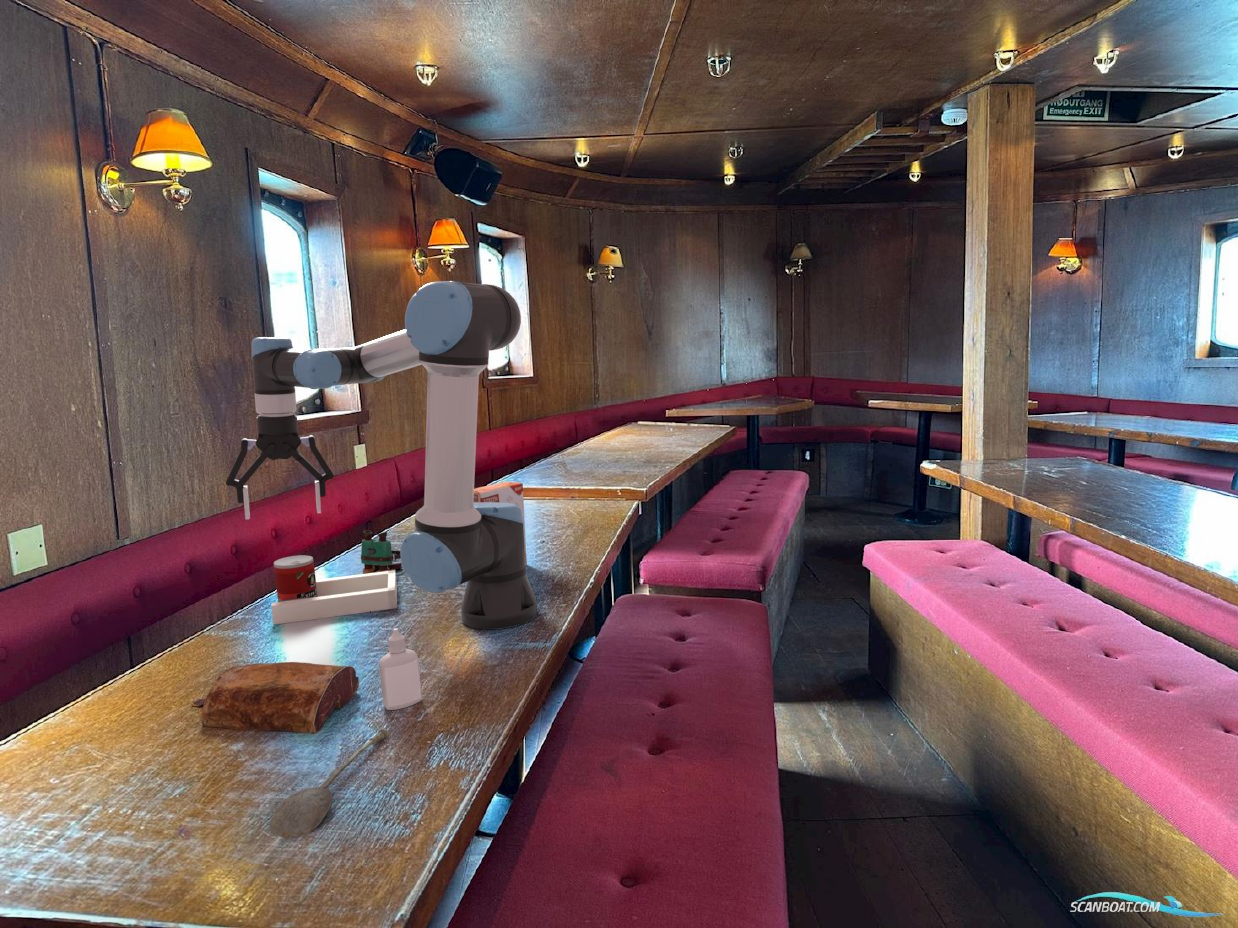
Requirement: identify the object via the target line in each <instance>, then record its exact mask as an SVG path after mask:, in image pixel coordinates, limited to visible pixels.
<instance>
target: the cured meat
mask: <svg viewBox="0 0 1238 928" xmlns="http://www.w3.org/2000/svg"><path fill="white" fill-rule="evenodd" d="M359 685H360V679H359V676H357V672H356V669H355V668H354V667H353V666H349V665H331V664H322V663H321V664H320V663H312V662H311V663H310V662H300V661H299V662H298V661H285V662H284V661H283V662H268V663H267V662H266V663H265V662H263V663H251V664H244V665H235V666H232V667H230V668H228V669H226V670H225V671H223V672H222V673H221V674H219V675H218V677H217V679H216V681H215V682H214V683H213V685H212V686H211V688H210V690H209V692H208V694H207V695H206V697H205V698H202V699H201V698H200V699H198V700H195V701H193V702H192V704H191V706H192V707H197V709H199V708H201V707H202V710H201V713H200V720H201V724H202V727H208V728H210V727H211V728H224V729H230V730H241V731H256V732H257V731H258V732H260V731H282V732H294V733H304V734H317V733H318V732H319V731H320V730H321V729H323V727H324V724H325V721H326V720H327V719H328V718H329V716H330V715H331V714H332V712H333V711H334V709H341V710H342V709H343V708H344V707H345V706H346V705H347V704H349V702H350V701H351V700H352V699H353V698H354V697H355V695H356V693H357V691H358V690H359V687H360V686H359Z"/></svg>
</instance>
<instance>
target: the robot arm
mask: <svg viewBox="0 0 1238 928" xmlns="http://www.w3.org/2000/svg"><path fill="white" fill-rule="evenodd" d="M404 315H405V316H404V328H405V329H402V330H400V331H396V332H394V333H391V334H388V335H385V336H382V337H380V338H377V339H374V340H371V341H368V342H365V343H362V344H360V345H356V346H352V347H332V348H330V347H329V348H328V347H327V348H326V347H325V348H323V347H322V348H294V347H293V343H292V341H293V340H292V339H291V338H289V337H283V336H282V337H281V336H279V337H278V336H273V337H272V336H271V337H270V336H269V337H267V336H266V337H265V336H263V337H262V336H261V337H260V336H259V337H254V338H253V339H252V341H251V356H250V360H251V366H252V367H251V368H252V376H253V388H254V389H253V390H254V403H255V412H256V413H257V414H259V415H257V417H256V429H257V438H256V439H248V438H246V437H244V438H242V439H241V441H240V451H239V453H238V454H237V457H236V459H235V461H234V464H233V466H232V467H231V470H230V473H229V474H228V476H227V479H226V480H225V484H226V485H227V486H231V487H234V488H235V489H236V496H237V503H238V504H243V505H244V506H243V508H244V517H245V518H244V519H245V520H250V519H251V513H250V501H249V500H250V499H249V488H248V485H245V484H246V483H247V482H248V481H249V480H250V479H251V477H253V475H254V474H255V472H256V471H257V470H258V469H259V468H260V466H262V464H263V463H264V462H265V461H266V460H267V459H269V460H271V461H277V460H280V459H281V460H289V459H290V458H293V459H294V460H296V461H297V462H298V463H299V464H300V465H301V466H302V467H303V468H305V470H306V471H308V472H309V473H310V474H311V475H312V476H313V477H314V478H315V479H316V480H314V487H315V489H314V490H315V504H316V513H317V514H322V506H321V505H322V503H321V498H325V497H326V495H327V493H326V482H327V481H328V480H329V481H330V480H332V479H333V478H334V477H335V475H334V473H333V471H332V469H331V467H330V466H329V465H328V463H327V461H326V460H325V458H324V456H323V454H322V453H321V452H320V450H319V449H318V447H317V445H316V439H315V436H314V435H313V434H309V435H307V436H302V437H300V436H299V429H298V428H299V427H298V415H296V414H295V413H296V412H297V399H296V397H297V396H296V388H295V387H298V388H305V389H306V388H307V389H310V390H319V389H320V390H321V389H322V390H323V389H324V390H325V389H330V388H332V387H334V386H344V385H353V384H354V385H355V384H372V383H375V382H380V381H382V380H384V378H385V377H386V376H388V375H392V374H395V373H399V372H402V371H406V370H409V369H412V368H415V367H418V366H423V367H424V369H425V370H426V372H427V385H426V386H427V389H426V393H427V395H426V426H425V427H426V429H425V431H426V432H425V460H424V462H425V464H424V465H425V468H424V496H423V498H424V499H423V506H422V507H420V508H419V509H418V510H417V511H416V512H415V514H414V532H413V531H412V532H409V534H408V535H407V536H406V537H405V538H404V539H403V540H402V542H401V545H400V550H399V551H400V557H401V558H400V563H401V564H402V568H403V570H404V572H405V574H406V575H407V576H408V577H409V579H410V581H411V583H413V584H414V585H415V586H416V587H418V588H419V589H421V590H422V591H425V592H427V593H432V594H440V593H444V592H445V591H448V590H454V589H456V588H458V587H459V586H460V585H462V584H463V585H464V583H465V584H466V587H465V592H464V595H463V599H462V604H461V607H460V608H461V609H460V613H461V615H460V616H461V622H462V623H463V624H464V625H466V626H467V627H470V628H474V629H480V630H500V629H506V628H507V629H508V628H513V627H516V626H521V625H523V624H526V623H528V622H530V621H532V620H533V619H534V618H536V617H537V615H538V610H539V609H538V601H537V598H536V595H535V593H534V590H533V588H532V586H531V584H530V581H529V579H528V575H527V567H526V566H527V565H526V561H525V545H524V529H523V525H524V522H523V518H522V511H521V509H520V507H519V506H517V505H515V504H511V503H499V502H482V503H473V501H474V489H475V473H476V455H477V454H476V453H477V452H476V451H477V429H478V426H477V425H478V405H479V404H478V403H479V379H480V375H481V373H482V372H483V371H484V370H486V369H487V367H489V361H490V360H489V358H490V357H489V356H490V351H496V350H500V349H501V350H502V349H503V348H504V347H508V346H509V345H510V344H511V343H512V342H513V341H514V340H515V338H516V337H517V335H518V333H519V332H520V328H521V323H522V315H521V310H520V307H519V304H518V302H517V300H516V299H515V298H514V297H513V296H512V295H511V293H510V292H508V291H507V290H506V289H504V288H502V287H500V286H497V285H494V284H486V283H482V284H481V283H471V282H470V283H469V282H460V281H453V280H450V281H449V280H447V281H445V280H444V281H433V282H429V283H426V284H424V285H422V287H420V288H419V289H418V290H417V292H415V293H414V294H413V295H412V297H411V298H410V300H409V301H408V303H407V306H406V310H405V314H404ZM301 444H304V445H305V448H310V451H311V453H312V454H313V456H314V457H315V459H316V461H317V462H318V463H319V466H320V467H321V469H322V470H323V472H324V473H323V474H322V472H320V471H319V470H318V469H317V468H316V467H315V466H314V465H313V464H312V463H311V462H310V461H309V460H307V458H305V457H304V455H303V454H302V453H301V452H300V451H298V449H299V447H300V445H301ZM254 446H256V448H258V450H259V451H260V453H259V455H257V457H256V458H255V460H254V461H253V462H252V463H251V464H250V465H249V466H248V468H247V469H246V470H245V472H244V473H242V475H241V477H239V479H236V478H237V476H238V474H239V471H240V469H241V466H242V465H243V462H244V461H245V458H246V456H247V453H248V451H252V449H253V447H254Z"/></svg>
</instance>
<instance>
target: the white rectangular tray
mask: <svg viewBox="0 0 1238 928" xmlns="http://www.w3.org/2000/svg"><path fill="white" fill-rule="evenodd" d="M396 575H397V574H396V569H392V570H389V571H384V572H378V571H376V572H372V573H368V574H363V573H360V574H354V575H345V576H336V577H329V578H320V579H316V586H317V595H318V597H313V598H310V597H303V598H295V599H287V600H279V601H278V600H277V601H276V602H271V605H270V607H271V608H270V609H271V616H272V623H273V624H272V625H273V626H274V625H281V624H288V623H296V622H302V621H303V622H304V621H311V620H312V621H313V620H318V619H326V618H334V617H339V616H340V617H341V616H348V615H354V614H356V615H357V614H363V613H370V611H371V612H377V611H386V610H392V609H397V608H398V602H397V601H398V585H397V576H396Z"/></svg>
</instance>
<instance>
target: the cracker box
mask: <svg viewBox="0 0 1238 928" xmlns="http://www.w3.org/2000/svg"><path fill="white" fill-rule="evenodd" d="M482 502H499V503H511V504H515V505H517V506H519V507H520V509H521V511H522V518H523V522H524V525H523V529H524V545H525V561H526V566H527V565H528V561H527V544H526V543H527V542H526V521H525V520H526V519H525V505H524V486H523V483H522V482H518V481H503V482H499V483H493V484H490V485H486V486H480V487H474V501H473V503H482Z"/></svg>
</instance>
